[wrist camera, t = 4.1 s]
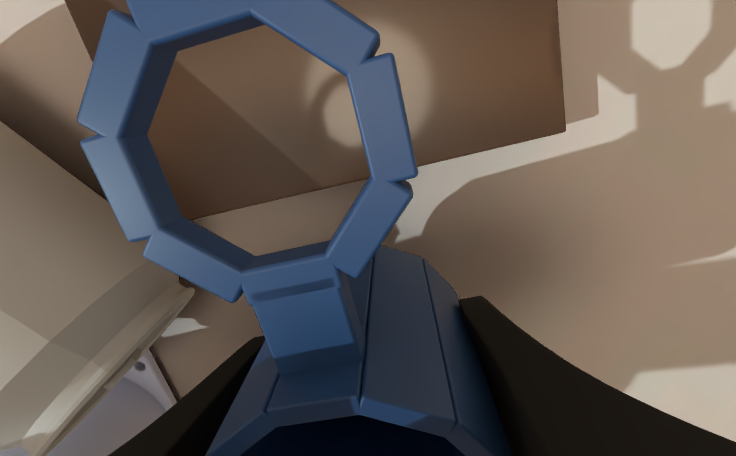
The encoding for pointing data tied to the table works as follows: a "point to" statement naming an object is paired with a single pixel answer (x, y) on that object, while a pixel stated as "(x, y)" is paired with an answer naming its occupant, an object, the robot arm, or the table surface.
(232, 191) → the peg stand
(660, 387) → the table surface
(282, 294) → the cup
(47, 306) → the can
